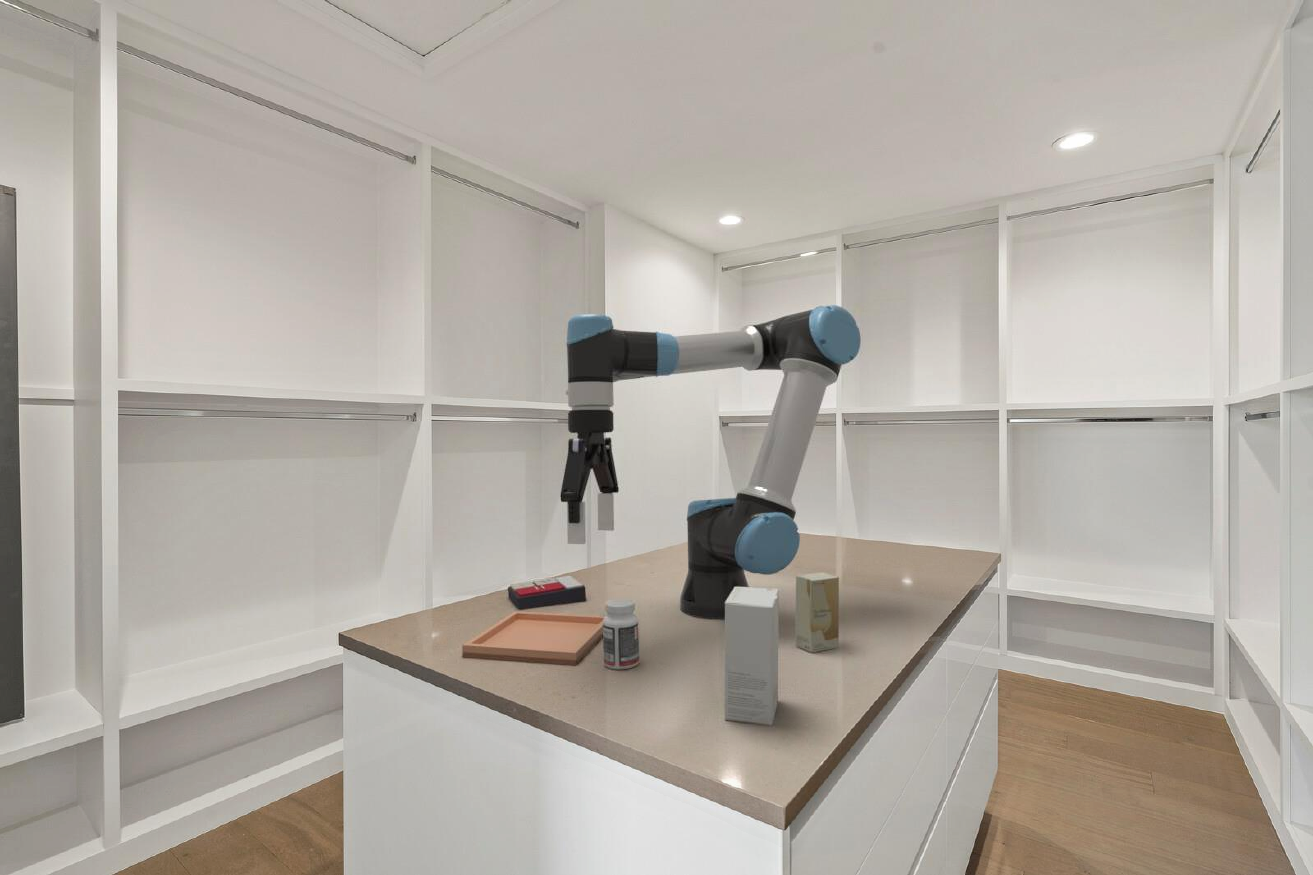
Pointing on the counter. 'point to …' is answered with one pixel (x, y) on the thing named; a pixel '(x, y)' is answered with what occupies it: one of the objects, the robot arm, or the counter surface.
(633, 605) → the pill bottle
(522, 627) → the tray
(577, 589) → the calculator
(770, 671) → the skincare box
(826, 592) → the skincare box
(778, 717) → the counter surface
